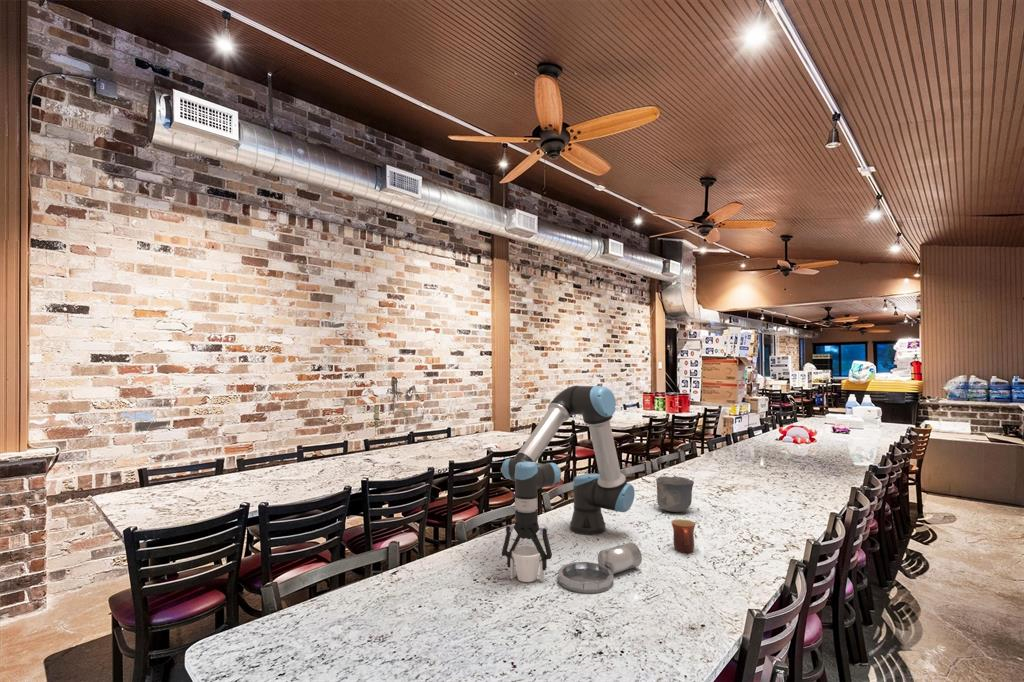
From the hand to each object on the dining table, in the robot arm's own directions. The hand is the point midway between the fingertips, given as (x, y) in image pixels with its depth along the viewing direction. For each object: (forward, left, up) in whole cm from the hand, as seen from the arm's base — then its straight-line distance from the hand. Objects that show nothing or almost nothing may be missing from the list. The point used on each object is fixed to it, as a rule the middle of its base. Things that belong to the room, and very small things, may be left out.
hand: (527, 578), depth 166 cm
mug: (+13, +63, 0) cm, 64 cm away
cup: (0, 0, 0) cm, 0 cm away
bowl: (-23, +102, 0) cm, 104 cm away
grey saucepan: (+12, +22, 0) cm, 25 cm away
